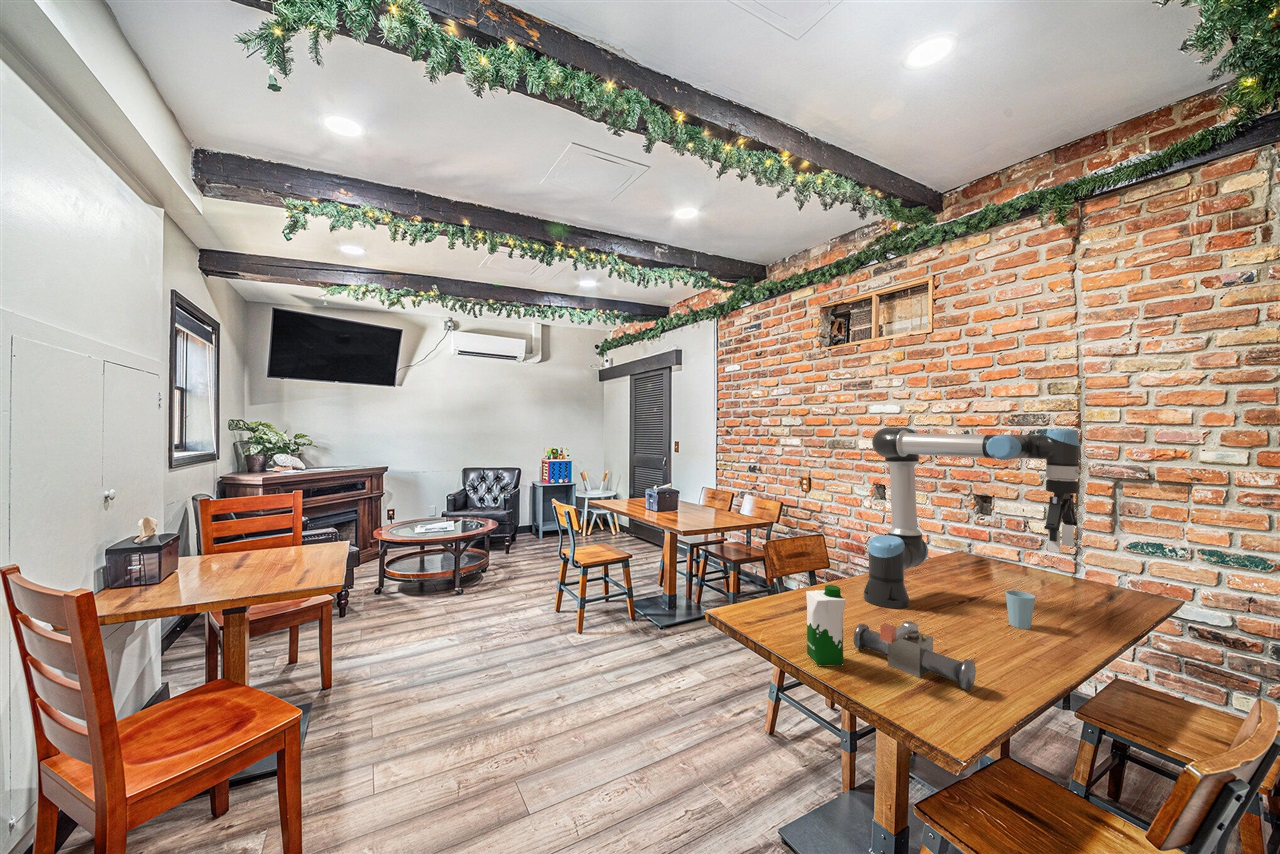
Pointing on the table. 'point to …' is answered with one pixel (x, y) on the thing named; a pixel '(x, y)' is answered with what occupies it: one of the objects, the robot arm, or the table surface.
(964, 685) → the valve body
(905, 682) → the table surface
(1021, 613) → the cup
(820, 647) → the milk carton
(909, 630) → the lever
